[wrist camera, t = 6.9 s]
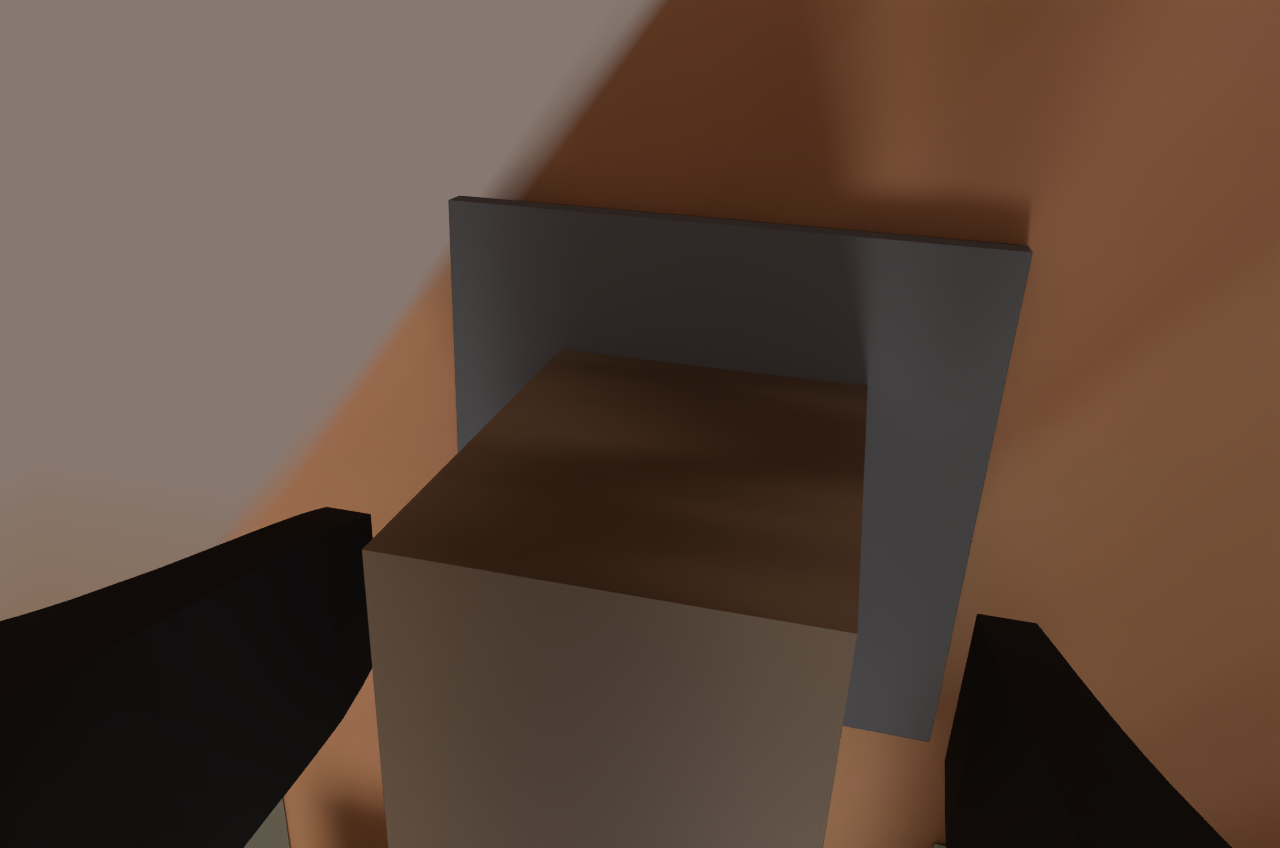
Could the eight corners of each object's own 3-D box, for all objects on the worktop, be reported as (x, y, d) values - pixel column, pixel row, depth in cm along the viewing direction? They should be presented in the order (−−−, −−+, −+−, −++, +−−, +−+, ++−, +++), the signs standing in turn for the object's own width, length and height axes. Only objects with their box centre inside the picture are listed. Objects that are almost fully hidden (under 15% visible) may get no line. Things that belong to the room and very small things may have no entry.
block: (867, 386, 13) (857, 633, 8) (828, 649, 15) (798, 999, 10) (560, 349, 14) (361, 549, 9) (558, 602, 16) (392, 897, 10)
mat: (1028, 246, 12) (1032, 252, 12) (928, 725, 16) (929, 742, 15) (459, 195, 14) (448, 200, 14) (474, 640, 17) (465, 654, 17)
